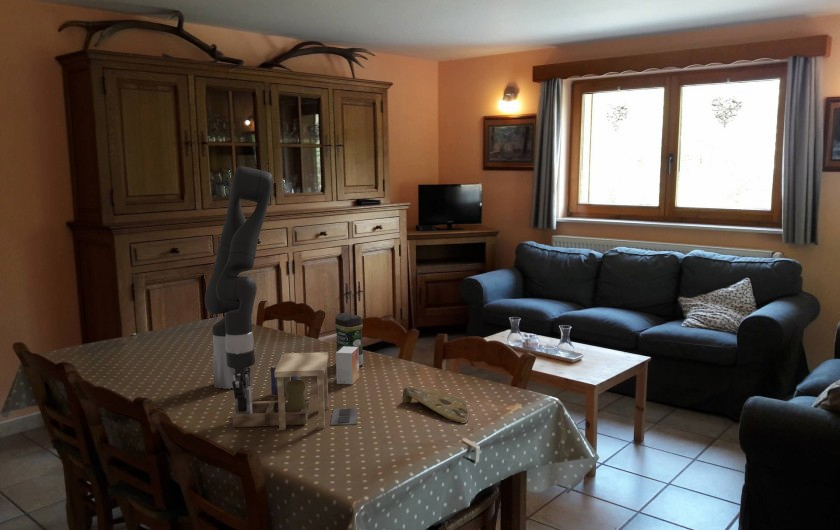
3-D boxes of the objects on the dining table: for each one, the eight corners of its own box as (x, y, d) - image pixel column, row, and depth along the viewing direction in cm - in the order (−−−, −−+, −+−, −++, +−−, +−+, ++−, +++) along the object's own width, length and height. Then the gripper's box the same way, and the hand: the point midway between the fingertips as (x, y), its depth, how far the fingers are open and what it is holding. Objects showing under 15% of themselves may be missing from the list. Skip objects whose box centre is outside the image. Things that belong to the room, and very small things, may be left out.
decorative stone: (399, 402, 199) (401, 386, 198) (437, 398, 208) (440, 382, 208) (453, 437, 180) (457, 419, 179) (493, 430, 190) (496, 414, 189)
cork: (285, 416, 189) (284, 378, 187) (307, 413, 190) (305, 376, 189) (286, 424, 183) (284, 385, 182) (308, 421, 184) (307, 383, 183)
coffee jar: (332, 364, 237) (330, 313, 234) (350, 360, 242) (348, 310, 240) (349, 370, 230) (348, 317, 227) (367, 365, 236) (366, 314, 233)
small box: (352, 385, 215) (351, 353, 213) (336, 384, 216) (335, 352, 214) (360, 377, 223) (359, 346, 221) (343, 376, 224) (342, 345, 222)
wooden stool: (277, 431, 178) (274, 371, 176) (285, 408, 195) (282, 353, 193) (356, 427, 180) (354, 368, 177) (357, 405, 196) (355, 351, 194)
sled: (233, 427, 180) (231, 395, 179) (240, 412, 191) (239, 381, 190) (305, 424, 182) (304, 392, 180) (309, 409, 192) (308, 379, 191)
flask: (300, 394, 206) (299, 361, 205) (296, 398, 204) (295, 364, 202) (273, 392, 209) (272, 359, 207) (269, 395, 206) (267, 362, 204)
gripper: (231, 342, 189) (235, 400, 192) (220, 356, 176) (224, 418, 178) (258, 341, 190) (261, 399, 193) (249, 354, 176) (253, 417, 179)
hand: (243, 408), depth 185 cm, fingers closed on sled, 3 cm apart
